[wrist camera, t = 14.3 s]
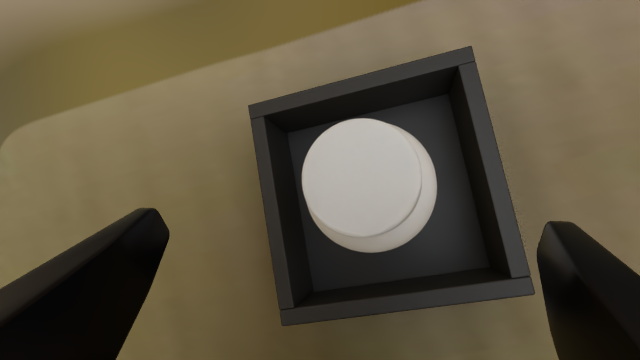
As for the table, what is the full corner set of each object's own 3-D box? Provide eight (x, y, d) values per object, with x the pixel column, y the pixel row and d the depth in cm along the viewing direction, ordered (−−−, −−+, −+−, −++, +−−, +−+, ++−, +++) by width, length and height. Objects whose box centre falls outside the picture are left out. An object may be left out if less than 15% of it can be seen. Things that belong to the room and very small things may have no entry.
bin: (506, 278, 19) (536, 295, 15) (305, 305, 22) (281, 327, 17) (457, 80, 21) (471, 44, 17) (276, 126, 24) (247, 105, 19)
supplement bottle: (429, 152, 21) (450, 96, 11) (426, 246, 20) (445, 271, 11) (337, 150, 22) (286, 98, 12) (332, 239, 21) (275, 256, 12)
